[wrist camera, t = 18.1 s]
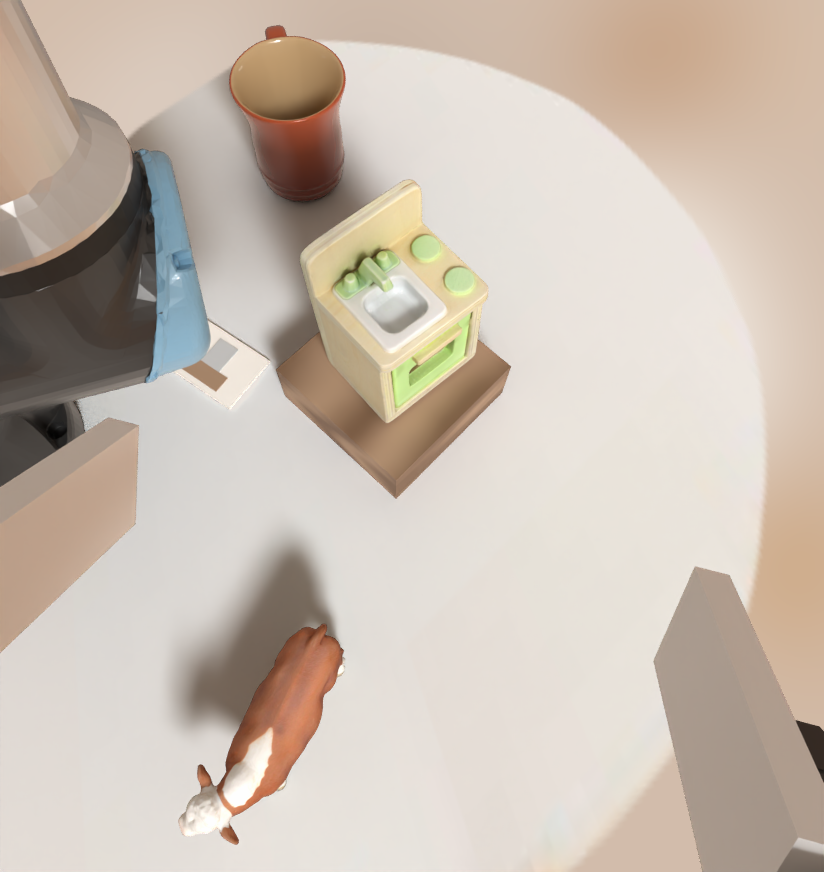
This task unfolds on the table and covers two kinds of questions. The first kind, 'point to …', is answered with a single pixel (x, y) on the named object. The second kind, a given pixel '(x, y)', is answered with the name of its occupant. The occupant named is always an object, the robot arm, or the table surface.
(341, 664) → the bull figurine
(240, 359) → the card
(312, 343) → the walnut block
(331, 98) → the mug
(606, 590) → the table surface
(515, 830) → the table surface
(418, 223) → the toy sink
